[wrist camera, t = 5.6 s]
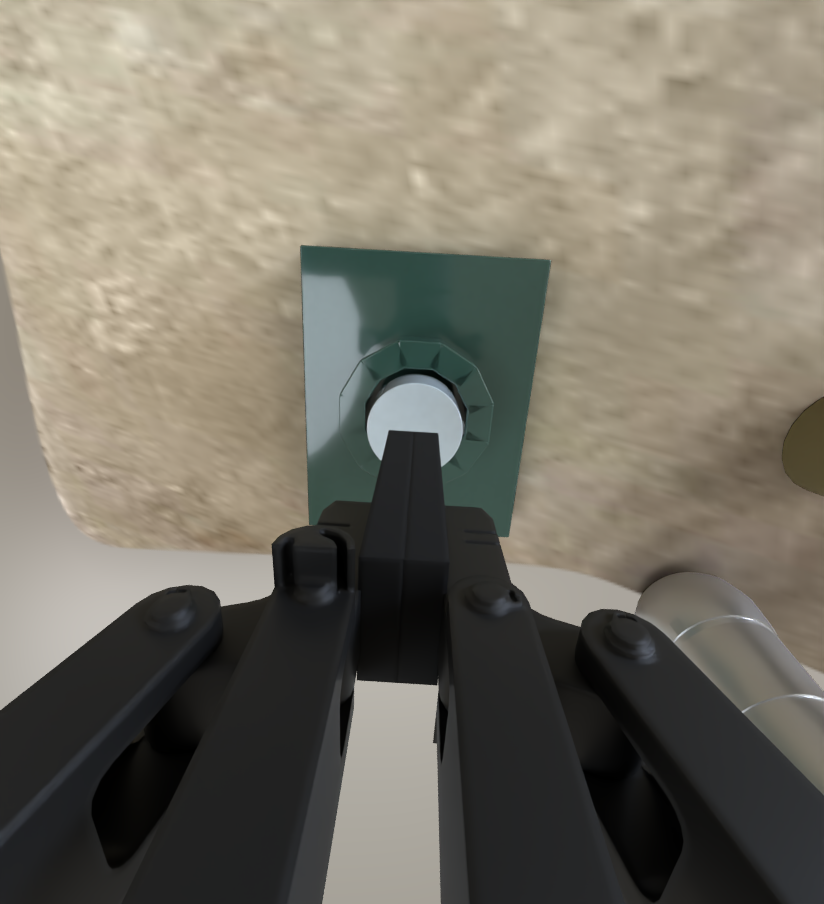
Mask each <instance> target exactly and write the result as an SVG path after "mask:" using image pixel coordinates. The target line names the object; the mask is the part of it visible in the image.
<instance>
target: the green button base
mask: <svg viewBox="0 0 824 904" xmlns="http://www.w3.org/2000/svg"><path fill="white" fill-rule="evenodd" d="M300 256H301V287H302V318H303V350H304V381H305V412H306V444H307V475H308V507H309V525H317V523H318V520H319V518H320V516H321V513H322V511H323V510H324V509H325V508H326V507H328V506H329V505H330V504H332V503H333V502H334V501H336V500H339V501H355V502H372V498H373V494H374V490H375V486H376V481H377V477H378V473H379V469H380V465H381V460H380V459H379V458H378V457H377V456H376V455H375V453H374V452H373V450H372V448H371V446H370V443H369V440H368V436H367V421H368V416H369V413H370V411H371V408H372V406H373V404H374V401H375V399H376V397H377V395H378V393H379V392H380V391H381V389H382V388H383V387H384V386H385V385H386V384H388V383H389V382H390V381H392V380H394V379H395V378H398V377H400V376H403V375H407V374H424V375H428V376H431V377H433V378H436V379H438V380H439V381H441V382H442V383H443V384H445V385H446V386H447V387H448V388H449V389H450V391H451V392H452V393H453V395H454V397H455V399H456V401H457V404H458V407H459V411H460V415H461V418H462V424H463V434H462V440H461V443H460V446H459V448H458V450H457V451H456V453H455V455H454V456H453V457H452V458H451V459H450V460H449V461H448V462H447V463H446V464H445V465H443V466H442V467H441V470H442V481H443V492H444V503H445V506H462V507H478V508H482V509H483V510H484V511H485V512H486V513H487V514H488V515H489V516H490V517H491V518H492V519H493V521H494V524H495V528H496V531H497V535H498V537H509V532H510V526H511V519H512V513H513V506H514V500H515V493H516V487H517V480H518V474H519V467H520V461H521V454H522V448H523V441H524V435H525V428H526V422H527V415H528V409H529V402H530V396H531V389H532V383H533V376H534V370H535V363H536V357H537V350H538V344H539V337H540V331H541V324H542V318H543V311H544V305H545V298H546V292H547V285H548V279H549V272H550V266H551V260H545V259H528V258H511V257H494V256H477V255H460V254H443V253H426V252H409V251H392V250H375V249H358V248H341V247H324V246H307V245H301V246H300Z"/></svg>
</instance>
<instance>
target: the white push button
mask: <svg viewBox="0 0 824 904" xmlns="http://www.w3.org/2000/svg"><path fill="white" fill-rule="evenodd" d="M389 430H397V431H414V432H430V433H438V436H439V447H440V458H441V467H442V466H443V465H445V464H446V463H447V462H448V461H449V460H450V459H451V458H452V457H453V456H454V455H455V453H456V451H457V450H458V448H459V446H460V443H461V440H462V434H463V424H462V418H461V415H460V411H459V407H458V404H457V401H456V399H455V397H454V395H453V393H452V392H451V391H450V389H449V388H448V387H447V386H446V385H445V384H443V383H442V382H441V381H439V380H438V379H436V378H433V377H431V376H428V375H424V374H407V375H403V376H400V377H398V378H395V379H394V380H392V381H390V382H389V383H388V384H386V385H385V386H384V387H383V388H382V389H381V391H380V392H379V393H378V395H377V397H376V399H375V401H374V404H373V406H372V408H371V411H370V413H369V416H368V421H367V436H368V440H369V443H370V446H371V448H372V450H373V452H374V453H375V455H376V456H377V457H378V458H379V459H380V460H381V461H382V456H383V452H384V448H385V444H386V440H387V436H388V431H389Z"/></svg>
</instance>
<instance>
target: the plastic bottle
mask: <svg viewBox="0 0 824 904" xmlns="http://www.w3.org/2000/svg"><path fill="white" fill-rule="evenodd" d="M635 615H636V616H638V617H640V618H642V619H644V620H646V621H648V622H650V623H652V624H653V625H654V626H656V627H657V628H658V629H659V630H661V631H662V632H663V633H664V634H666V635H667V636H668V637H669V638H670V639H671V640H672V641H673V642H674V644H675V645H676V646H677V647H678V648H679V649H680V650H681V651H682V652H683V653H684V654H685V655H686V656H687V657H688V658H689V659H690V660H691V661H692V662H693V663H694V664H695V665H696V666H697V667H698V668H699V669H700V670H701V671H702V672H703V673H704V674H705V675H706V676H707V677H708V678H709V679H710V680H711V681H712V682H713V683H714V684H715V685H716V686H717V687H718V688H719V689H720V690H721V691H722V692H723V693H724V694H725V695H726V696H727V697H728V698H729V699H730V700H731V701H732V702H733V703H734V705H735V706H736V707H737V708H738V709H739V710H740V711H741V712H742V713H743V714H744V715H745V716H746V717H747V718H748V719H749V720H750V721H751V722H752V723H753V724H754V725H755V726H756V727H757V728H758V729H759V730H760V731H761V732H762V733H763V734H764V735H765V736H766V737H767V738H768V739H769V740H770V741H771V742H772V743H773V744H774V745H775V746H776V747H777V748H778V749H779V750H780V751H781V752H782V753H783V754H784V755H785V756H786V757H787V758H788V759H789V760H790V761H791V762H792V763H793V765H794V766H795V767H796V768H797V769H798V770H799V771H800V772H801V773H802V774H803V775H804V776H805V777H806V778H807V779H808V780H809V781H810V782H811V783H812V784H813V785H814V786H815V787H816V788H817V789H818V790H819V791H820V792H821V793H822V794H823V795H824V691H823V690H822V689H821V688H820V687H819V685H818V684H817V683H816V682H815V681H814V679H813V678H812V677H811V676H810V675H809V673H808V672H807V671H806V670H805V669H804V667H803V666H802V665H801V664H800V663H799V662H798V660H797V659H796V658H795V657H794V656H793V655H792V653H791V652H790V651H789V650H788V649H787V647H786V646H785V645H784V644H783V643H782V642H781V640H780V639H779V637H778V635H777V633H776V632H775V630H774V628H773V627H772V625H771V624H770V622H769V621H768V620H767V619H766V617H765V616H764V615H763V613H762V612H761V611H760V610H759V608H758V607H757V606H756V605H755V603H754V602H753V601H752V600H751V598H749V597H748V596H747V595H745V594H744V593H743V592H741V591H740V590H738V589H737V588H735V587H734V586H733V585H731V584H730V583H728V582H727V581H725V580H723V579H721V578H719V577H717V576H713V575H709V574H704V573H696V572H681V573H675V574H671V575H668V576H666V577H663V578H661V579H659V580H658V581H656V582H654V583H653V584H652V585H650V586H649V587H648V588H647V589H646V590H645V591H644V593H643V594H642V595H641V597H640V599H639V601H638V605H637V608H636V612H635Z"/></svg>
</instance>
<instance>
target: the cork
mask: <svg viewBox="0 0 824 904" xmlns="http://www.w3.org/2000/svg"><path fill="white" fill-rule="evenodd" d="M782 461H783V465H784V469H785V472H786V474H787V475H788V476H789V477H790V479H791V480H792V481H793V482H794V483H795V484H796V485H798V486H800V487H802V488H804V489H806V490H808V491H811V492H813V493H816V494H819V495H822V496H824V397H823V398H821V399H820V400H818V401H817V402H816V403H814V404H813V405H812V406H810V407H809V408H808V409H806V410H805V411H804V412H803V413H802V414H801V416H800V417H799V418H798V419H797V420H796V421H795V423H794V424H793V425H792V426H791V429H790V431H789V433H788V435H787V437H786V439H785V441H784V446H783V453H782Z"/></svg>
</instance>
